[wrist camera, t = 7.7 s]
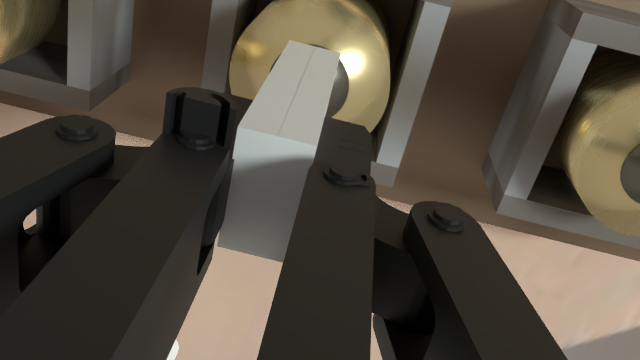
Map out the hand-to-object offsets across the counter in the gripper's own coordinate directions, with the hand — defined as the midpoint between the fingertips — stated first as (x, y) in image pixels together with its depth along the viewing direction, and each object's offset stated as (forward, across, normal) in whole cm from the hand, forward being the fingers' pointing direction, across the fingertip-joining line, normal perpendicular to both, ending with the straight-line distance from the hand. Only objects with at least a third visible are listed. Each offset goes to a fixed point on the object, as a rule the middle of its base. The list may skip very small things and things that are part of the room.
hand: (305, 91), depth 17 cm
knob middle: (+5, 0, 0) cm, 5 cm away
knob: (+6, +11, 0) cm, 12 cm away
